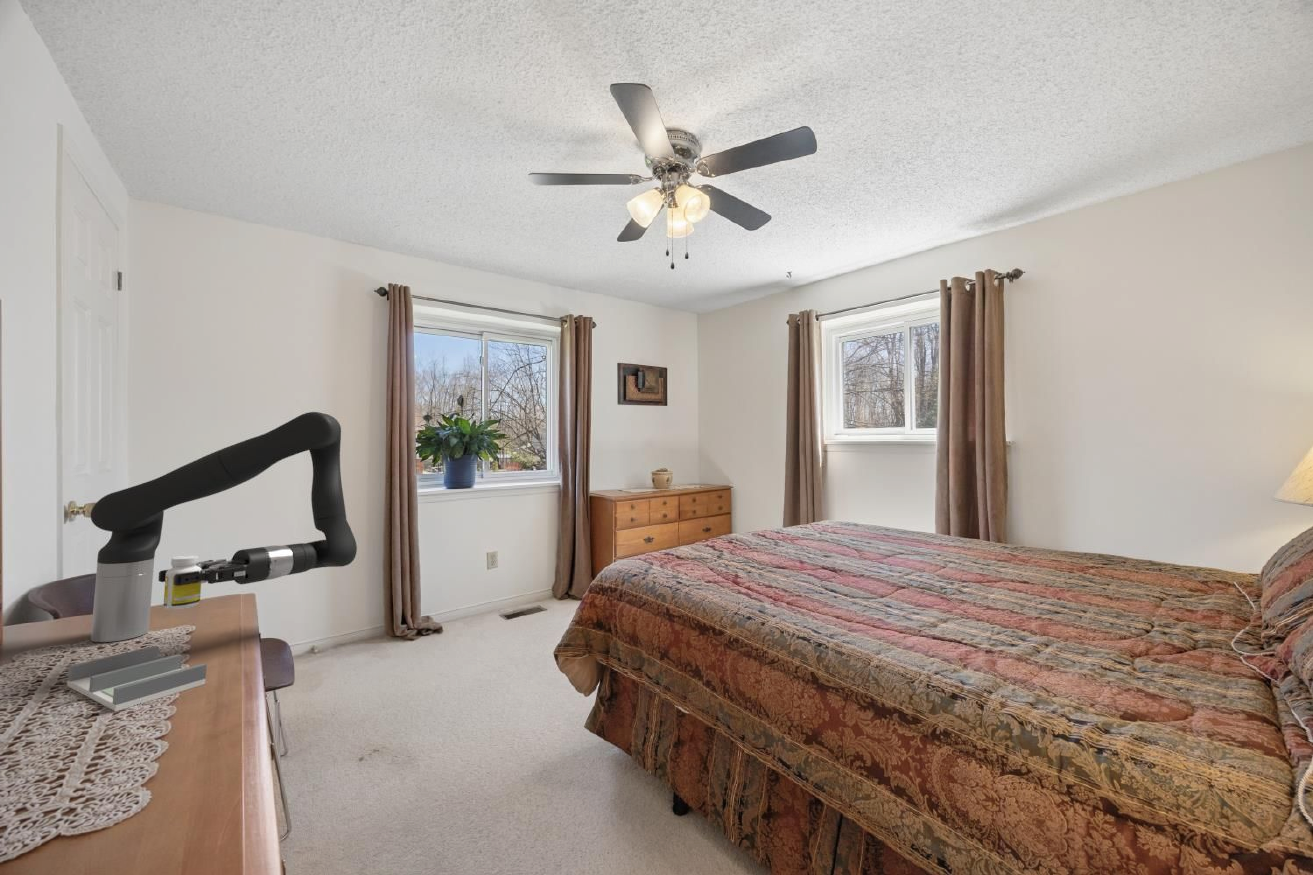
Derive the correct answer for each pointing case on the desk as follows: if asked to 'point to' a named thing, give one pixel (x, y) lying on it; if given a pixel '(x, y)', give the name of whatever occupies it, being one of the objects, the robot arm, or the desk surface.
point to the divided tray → (133, 678)
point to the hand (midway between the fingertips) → (167, 578)
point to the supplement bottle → (185, 593)
